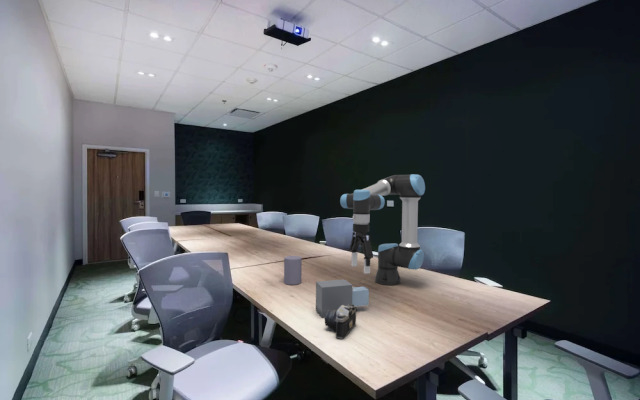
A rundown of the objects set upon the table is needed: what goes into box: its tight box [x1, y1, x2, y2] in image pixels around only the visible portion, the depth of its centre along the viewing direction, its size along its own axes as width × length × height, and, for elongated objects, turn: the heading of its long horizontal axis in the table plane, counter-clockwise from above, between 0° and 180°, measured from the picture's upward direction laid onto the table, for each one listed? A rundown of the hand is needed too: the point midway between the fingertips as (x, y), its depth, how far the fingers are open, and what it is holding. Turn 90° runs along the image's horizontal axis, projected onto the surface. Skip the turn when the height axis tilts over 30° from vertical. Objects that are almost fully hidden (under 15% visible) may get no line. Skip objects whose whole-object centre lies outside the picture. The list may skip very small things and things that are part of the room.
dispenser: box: [315, 279, 354, 319], centre depth 136 cm, size 14×9×13 cm, turn 107°
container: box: [283, 255, 303, 286], centre depth 180 cm, size 10×10×15 cm
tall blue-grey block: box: [352, 286, 370, 307], centre depth 138 cm, size 18×5×7 cm, turn 107°
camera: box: [324, 304, 357, 340], centre depth 119 cm, size 16×10×10 cm, turn 155°
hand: (360, 269), depth 139 cm, fingers open, 13 cm apart
